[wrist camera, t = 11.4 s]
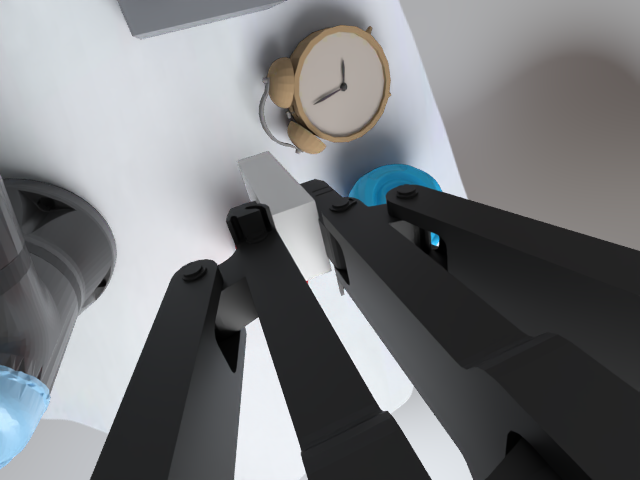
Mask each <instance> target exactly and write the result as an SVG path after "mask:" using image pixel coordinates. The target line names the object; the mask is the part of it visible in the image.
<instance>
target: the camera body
mask: <svg viewBox="0 0 640 480" xmlns="http://www.w3.org/2000/svg"><path fill="white" fill-rule="evenodd" d="M117 1H118V3H119V6H120V8H121V10H122V13H123V15H124V17H125V20H126V22H127V25H128V27H129V29H130V32H131V34H132V36H133V37H136V38H139V39H144V38H148V37H153V36H157V35H161V34H165V33H169V32H174V31H178V30H182V29H186V28H191V27H195V26H199V25H203V24H207V23H212V22H216V21H220V20H224V19H229V18H233V17H237V16H241V15H245V14H250V13H254V12H258V11H262V10H266V9H269V8H271V7H273V6H276V5H278V4H280V3H282V2H284V1H287V0H117Z"/></svg>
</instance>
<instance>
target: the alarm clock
mask: <svg viewBox="0 0 640 480" xmlns="http://www.w3.org/2000/svg"><path fill="white" fill-rule="evenodd" d="M371 31H372V27H371V26H369V27H368V28H367V30H366V31H363V30H362V29H360V28H358V27H354V26H344V25H339V26H336V27H332V28H325V29H322V30H319V31H316V32H312V33H311V34H310V35H309V36H307V37H306V38H305V39H303V40H302V41H301V42H300V43H299V44H298V46H297V47H296V49H295V50H294V52H293V53H292V55H291V56H290V58H287V57H283V58H279V59H277V60H276V61H274V62H273V63H272V65H271V66H270V68H269V71H268V75H267V77H265V78H263V80H262V81H263V83H265V84H266V86H265V92H264V94H263V96H262V98H261V101H260V105H259V117H260V121H261V124H262V127H263V129H264V130H265V132H266V133H267V135H268V136H269V137H270V138H271V139H272V140H274V141H275V142H277V143H278V144H281V145H283V146H288V147H292V148H295V149H296V153H298V154H299V153H300V152H303V151H304V152H306V153H310V154H317V153H320V152H322V151H323V150H324V149H325V147H326V145H325V144H324V143H323V142H322V141H321V140H319V139H318V138H317V137H316V136H318V137H320V138H323V139H326V140H328V141H331V142H349V141H352V140H354V139H357V138H359V137H362V136H363V135H364V134H365V133H367V132H368V131H369V130H370V129H372V128H373V127H374V126H375V124H376V123H377V121H378V120H379V118H380V117H381V115H382V114H383V112H384V109H385V106H386V103H387V101H388V98H389V97H390V96H391V93H389V90H390V81H391V79H390V72H389V65H388V61H387V59H386V56H385V54H384V52H383V49H382V47H381V46H380V45H379V44H378V42H377V41H376V40H375V39H374V38H373V37H372V36H371ZM268 93H269V96H270V98H271V100H272V101H273V102H274V103H275V104H276V105H277V106H279V107H281V108H289V111H290V112H291V113H290V112H289V111H287V112H286V114H287V116H288V118H289V119H290V118H291V114H292V116H293V117H294V119H295V120H296V122H297V123H298V124H297V123H295V122H293V121H290V123H289V125H288V136H289V138H290V140H291V141H292V143H293V144H294V145H295V146H296V147H295V146H293V145H291V144H288V143H283V142H280V141H278V140H277V139H276V138H275V137H274V136H273V135H272V134H271V132H270V131H269V129H268V128H267V125H266V122H265V118H264V105H265V101H266V98H267V96H268ZM314 135H316V136H314Z"/></svg>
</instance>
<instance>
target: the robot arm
mask: <svg viewBox="0 0 640 480" xmlns="http://www.w3.org/2000/svg"><path fill="white" fill-rule="evenodd" d="M237 163H238V166H239V169H240V172H241V175H242V178H243V181H244V184H245V187H246V189H247V192H248V195H249V198H250V201H251V202H249V203H246V204H244V205H241V206H238V207H235V208H232V209H230V211H229V213H228V215H227V220H226V222H227V225H228V228H229V230H230V233H231V235H232V238H233V240H234V243H235V245H236V251H235V252H234V254H233V255H232V256H231V257H230V258H229V259H228V260H226V261H225V262H223V263H221V264H220V265H218V266H217V263H216V262H214V261H213V260H208V259H205V260H198V261H195V262H191V263H188V264H187V265H185V266H183V267H182V268H181V269H180V270H178V271H177V272H176V273H175V274H174V276H173V277H172V279H171V281H170V283H169V286H168V288H167V291H166V293H165V296H164V298H163V301H162V303H161V305H160V308H159V310H158V313H157V315H156V318H155V320H154V323H153V325H152V328H151V330H150V333H149V335H148V338H147V340H146V343H145V345H144V348H143V350H142V352H141V355H140V357H139V360H138V362H137V365H136V367H135V370H134V372H133V375H132V377H131V380H130V382H129V385H128V387H127V390H126V392H125V395H124V397H123V399H122V402H121V404H120V407H119V409H118V412H117V414H116V417H115V419H114V422H113V424H112V427H111V429H110V432H109V434H108V437H107V439H106V442H105V444H104V446H103V449H102V451H101V454H100V456H99V459H98V461H97V464H96V466H95V469H94V471H93V474H92V476H91V479H90V480H234V471H235V460H236V448H237V437H238V425H239V414H240V403H241V391H242V380H243V368H244V357H245V345H246V329H245V326H246V325H248V324H249V323H250V322H252V321H253V320H255V319H256V318H258V317H259V320H260V323H261V326H262V329H263V332H264V335H265V338H266V341H267V345H268V348H269V351H270V354H271V357H272V360H273V363H274V366H275V369H276V372H277V376H278V379H279V382H280V385H281V388H282V391H283V394H284V397H285V400H286V404H287V407H288V410H289V413H290V416H291V419H292V422H293V425H294V428H295V431H296V435H297V438H298V441H299V444H300V447H301V451H302V452H301V456H302V460H303V464H304V467H305V471H306V474H307V477H308V480H432V479H431V478H430V476H429V475H428V473H427V471H426V470H425V468H424V466H423V465H422V463H421V461H420V460H419V458H418V456H417V455H416V453H415V452H414V450H413V448H412V446H411V445H410V443H409V441H408V440H407V438H406V436H405V435H404V433H403V431H402V430H401V428H400V427H399V425H398V424H397V422H396V421H395V419H394V418H393V416H392V415H391V414H390V413H389V412H388V411H382V410H381V409H380V407H379V406H378V404H377V403H376V401H375V399H374V398H373V396H372V394H371V392H370V391H369V389H368V387H367V385H366V384H365V382H364V380H363V379H362V377H361V375H360V373H359V372H358V370H357V368H356V366H355V365H354V363H353V361H352V360H351V358H350V356H349V354H348V353H347V351H346V349H345V347H344V346H343V344H342V342H341V341H340V339H339V337H338V335H337V334H336V332H335V330H334V328H333V327H332V325H331V323H330V322H329V320H328V318H327V316H326V315H325V313H324V311H323V309H322V308H321V306H320V304H319V303H318V301H317V299H316V297H315V296H314V294H313V292H312V290H311V289H310V287H309V285H308V284H307V282H306V281H307V280H310V279H312V278H315V277H318V276H320V275H323V274H325V273H328V272H330V271H332V270H331V265H330V261H329V259H330V260H331V262H332V263H333V264H334V268H335V272H336V276H337V281H338V285H339V289H340V293H341V296H342V295H344V291H343V289H344V288H345V290H346V291H347V293H348V294H349V295H350V297H351V298H352V300H353V301H354V302H355V304H356V305H357V307H358V308H359V309H360V311H361V312H362V314H363V315H364V316H365V318H366V319H367V321H368V322H369V323H370V325H371V326H372V328H373V329H374V330H375V332H376V333H377V335H378V336H379V337H380V339H381V340H382V342H383V343H384V344H385V346H386V347H387V349H388V350H389V352H390V353H391V354H392V356H393V357H394V359H395V360H396V361H397V363H398V364H399V366H400V367H401V368H402V370H403V371H404V373H405V374H406V375H407V377H408V378H409V380H410V381H411V382H412V384H413V385H414V387H415V388H416V389H417V391H418V392H419V394H420V395H421V396H422V398H423V399H424V401H425V402H426V404H427V405H428V406H429V408H430V409H431V410H432V412H433V413H434V415H435V416H436V417H437V419H438V420H439V422H440V423H441V425H442V426H443V427H444V429H445V430H446V432H447V433H448V434H449V436H450V437H451V439H452V440H453V441H454V443H455V444H456V446H457V447H458V448H459V450H460V452H461V453H462V454H463V457H464V459H465V461H466V462H467V465H468V468H469V470H470V473H471V475H472V478H473V480H640V251H638V250H634V249H631V248H628V247H624V246H621V245H618V244H614V243H611V242H608V241H604V240H601V239H597V238H594V237H591V236H588V235H584V234H581V233H578V232H574V231H571V230H567V229H564V228H561V227H557V226H554V225H551V224H548V223H544V222H541V221H537V220H534V219H531V218H528V217H524V216H521V215H518V214H514V213H511V212H508V211H504V210H501V209H498V208H494V207H491V206H488V205H484V204H481V203H478V202H474V201H471V200H468V199H464V198H461V197H458V196H454V195H451V194H448V193H444V192H441V191H437V190H434V189H431V188H427V187H424V186H420V185H409V184H404V185H403V186H402V185H400V186H397V187H395V188H393V189H391V190H390V191H388V192H387V194H386V204H381V205H376V206H366V205H365V204H364V203H363V202H362V201H360V200H359V199H356V198H353V197H342V196H340V195H339V194H338V193H337V192H336V191H335V190H333V189H332V188H331V187H329V185H328V184H327V183H325V182H324V181H321V180H317V179H314V180H311V181H308V182H305V183H302V184H299V183H298V182H297V181H296V180H295V179H294V178H293V177H292V176H291V175H290V174H289V172H288V171H287V170H286V169H285V168H284V167H283V166H282V165H281V164H280V163H279V162H278V161H277V160H276V159H275V158H274V157H273V155H272V154H271V153H270V152H269V151H266V152H263V153H260V154H257V155H254V156H251V157H247V158H244V159H241V160H238V161H237ZM431 232H432V233H434V234H437V235H438V236H439V247H438V246H435V245H433V244H431ZM116 255H117V252H116V243H115V239H114V236H113V234H112V231H111V229H110V227H109V226H108V224H107V223H106V221H105V220H104V218H103V217H102V216H101V215H100V214H99V213H98V212H97V211H96V210H95V209H94V208H93V207H92V206H91V205H90V204H88V203H87V202H86V201H84V200H83V199H81V198H80V197H78V196H76V195H75V194H73V193H71V192H69V191H67V190H64V189H62V188H59V187H57V186H54V185H50V184H47V183H43V182H38V181H33V180H24V179H3V180H2V177H1V175H0V469H1V468H2V467H4V466H5V465H7V464H8V463H9V462H10V461H11V460H12V458H13V457H14V456H16V455H17V454H18V453H20V452H21V451H22V450H23V449H24V447H25V446H26V445H27V443H28V442H29V440H30V438H31V436H32V434H33V433H34V431H35V429H36V427H37V425H38V423H39V421H40V419H41V417H42V415H43V413H44V412H45V411H46V410H47V407H48V405H49V403H50V401H49V400H50V398H51V397H50V393H51V390H52V387H53V384H54V381H55V379H56V376H57V373H58V370H59V367H60V364H61V362H62V359H63V356H64V353H65V350H66V347H67V345H68V342H69V339H70V336H71V333H72V330H73V328H74V325H75V322H76V319H77V316H78V315H80V314H81V313H82V312H83V311H84V310H85V309H86V308H88V307H89V306H90V305H91V304H92V303H93V302H95V301H96V300H97V299H98V298H99V297H100V295H101V294H102V293H103V292H104V290H105V289H106V287H107V286H108V284H109V282H110V280H111V277H112V274H113V271H114V267H115V263H116Z"/></svg>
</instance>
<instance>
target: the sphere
mask: <svg viewBox="0 0 640 480" xmlns="http://www.w3.org/2000/svg"><path fill="white" fill-rule="evenodd" d="M404 184H409V185H420V186H424V187H427V188H431V189H434V190H437V191H441V192H442V190H441V188H440V186H439V184H438V183H437V182H436V180H435V179H434V178H433V177H432V176H430V175H429V174H427V173H426V172H424V171H422V170H420V169H417V168H414V167H412V166H409V165H404V164H390V165H384V166H381V167H378V168H376V169H374V170H372V171H371V172H369V173H367V174H365V175H364V176H362V177H361V178H360V179H359V180H358V181H357V182H356V184H355V185H354V187H353V188H352V190H351V192H350V194H349V196H348V197H353V198H356V199H359V200H360V201H362V202H363V203H364V204H365V205H366V206H376V205H381V204H386V194H387V192H388V191H390V190H391V189H393V188H395V187H397V186H400V185H402V186H403V185H404ZM438 242H439V236H438V235H437V234H434V233H432V232H431V244H433V245H435V246H436V245H437V243H438Z"/></svg>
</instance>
